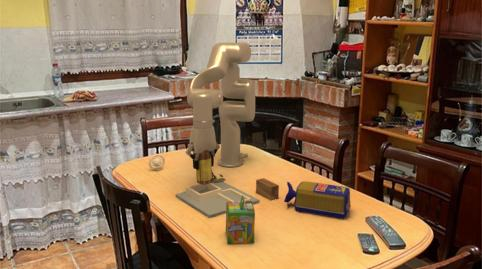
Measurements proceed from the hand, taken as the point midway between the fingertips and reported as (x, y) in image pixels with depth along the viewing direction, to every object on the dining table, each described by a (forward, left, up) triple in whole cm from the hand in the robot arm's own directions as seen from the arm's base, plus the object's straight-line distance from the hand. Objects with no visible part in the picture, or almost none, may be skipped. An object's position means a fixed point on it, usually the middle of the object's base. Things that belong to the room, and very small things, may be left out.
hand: (203, 166), depth 187 cm
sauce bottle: (0, 0, -7) cm, 7 cm away
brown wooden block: (-22, +14, -13) cm, 29 cm away
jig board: (-3, +5, -13) cm, 14 cm away
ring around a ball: (0, -40, -14) cm, 42 cm away
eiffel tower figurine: (-13, -15, -14) cm, 25 cm away
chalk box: (+9, +36, -14) cm, 40 cm away
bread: (-28, +36, -14) cm, 48 cm away
